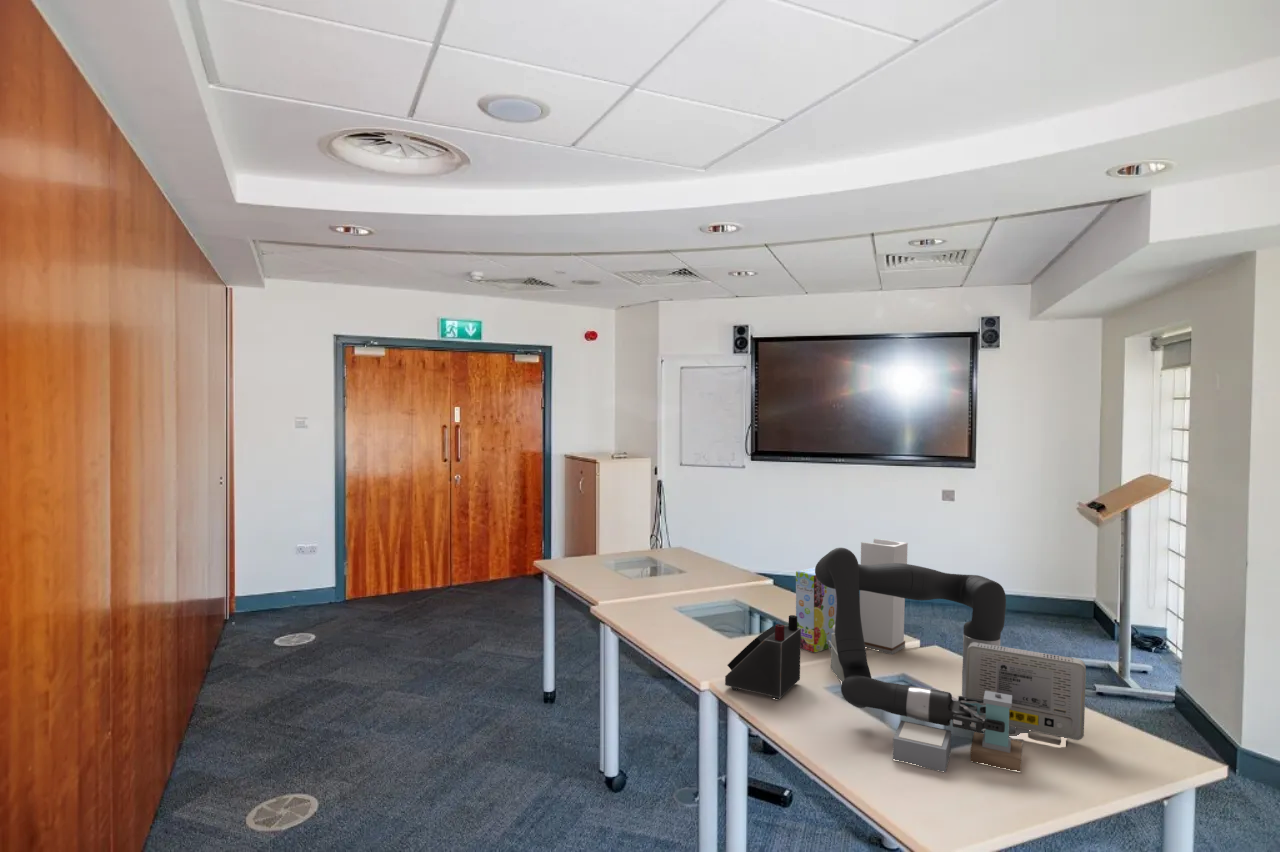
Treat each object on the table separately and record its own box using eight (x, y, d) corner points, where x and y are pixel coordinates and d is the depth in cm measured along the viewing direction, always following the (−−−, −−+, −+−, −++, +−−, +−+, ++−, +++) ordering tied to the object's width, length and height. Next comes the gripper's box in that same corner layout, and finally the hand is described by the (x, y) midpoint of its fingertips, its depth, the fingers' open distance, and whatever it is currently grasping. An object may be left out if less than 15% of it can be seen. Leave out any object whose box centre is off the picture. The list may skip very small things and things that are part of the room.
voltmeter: (746, 672, 217) (747, 606, 216) (799, 684, 208) (801, 614, 208) (724, 690, 203) (725, 618, 203) (780, 703, 195) (781, 628, 194)
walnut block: (973, 744, 172) (974, 731, 172) (1021, 754, 167) (1021, 741, 167) (970, 761, 163) (970, 748, 163) (1020, 773, 158) (1021, 759, 158)
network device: (1083, 739, 176) (1085, 657, 175) (1083, 754, 168) (1086, 668, 168) (967, 715, 189) (969, 638, 188) (963, 727, 181) (965, 648, 181)
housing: (983, 737, 169) (985, 687, 169) (1010, 743, 166) (1012, 692, 166) (982, 747, 164) (983, 695, 164) (1010, 753, 161) (1011, 701, 161)
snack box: (833, 635, 255) (835, 562, 255) (854, 641, 248) (856, 566, 248) (793, 646, 242) (794, 569, 241) (814, 653, 235) (816, 574, 234)
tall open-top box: (904, 647, 243) (907, 542, 243) (891, 654, 236) (894, 546, 235) (872, 639, 251) (874, 538, 250) (858, 646, 243) (861, 542, 242)
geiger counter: (863, 643, 202) (840, 618, 227) (840, 642, 202) (820, 617, 227) (862, 693, 202) (839, 662, 227) (839, 692, 203) (819, 661, 228)
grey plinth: (900, 741, 173) (901, 719, 173) (950, 752, 168) (951, 729, 167) (892, 760, 163) (893, 737, 163) (945, 772, 158) (946, 749, 158)
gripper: (925, 699, 166) (1004, 715, 158) (933, 680, 178) (1007, 693, 170) (924, 732, 166) (1003, 749, 158) (932, 710, 178) (1006, 725, 170)
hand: (1005, 720), depth 164 cm, fingers open, 8 cm apart
